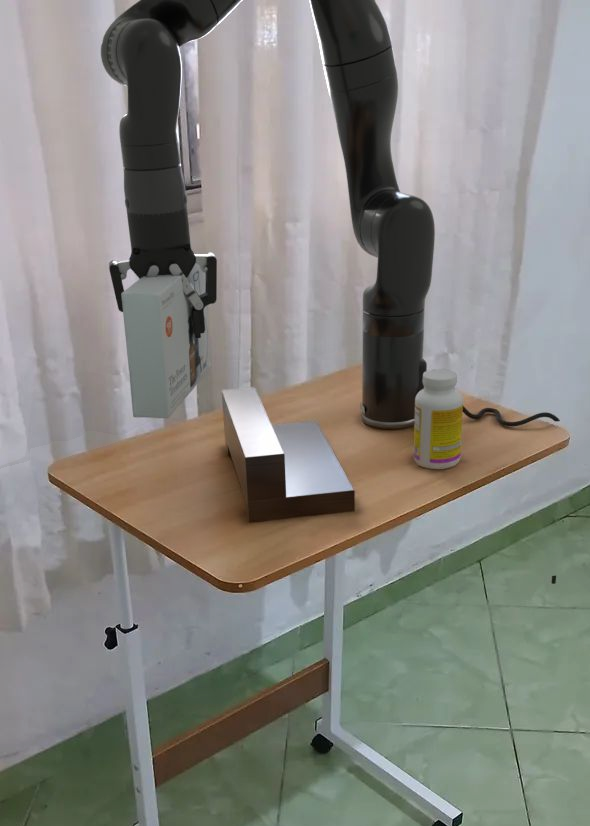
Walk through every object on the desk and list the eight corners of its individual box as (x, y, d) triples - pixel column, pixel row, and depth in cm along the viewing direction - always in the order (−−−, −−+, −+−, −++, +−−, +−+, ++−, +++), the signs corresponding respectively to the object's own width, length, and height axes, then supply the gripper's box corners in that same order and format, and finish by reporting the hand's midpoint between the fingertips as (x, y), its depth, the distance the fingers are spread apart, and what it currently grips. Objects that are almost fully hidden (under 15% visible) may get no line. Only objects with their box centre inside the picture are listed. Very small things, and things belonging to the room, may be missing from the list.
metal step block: (316, 438, 156) (315, 381, 151) (354, 511, 135) (354, 446, 130) (225, 447, 154) (221, 389, 149) (249, 522, 133) (245, 457, 128)
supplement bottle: (469, 460, 147) (474, 372, 140) (441, 475, 143) (445, 385, 136) (431, 449, 151) (435, 363, 144) (403, 463, 147) (406, 375, 140)
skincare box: (173, 420, 131) (158, 293, 123) (132, 419, 132) (115, 293, 124) (215, 367, 148) (205, 252, 140) (179, 366, 150) (167, 252, 141)
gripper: (210, 195, 131) (221, 326, 140) (97, 204, 130) (116, 336, 139) (217, 206, 125) (228, 342, 134) (98, 215, 123) (117, 353, 132)
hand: (171, 338), depth 136 cm, fingers closed on skincare box, 6 cm apart
